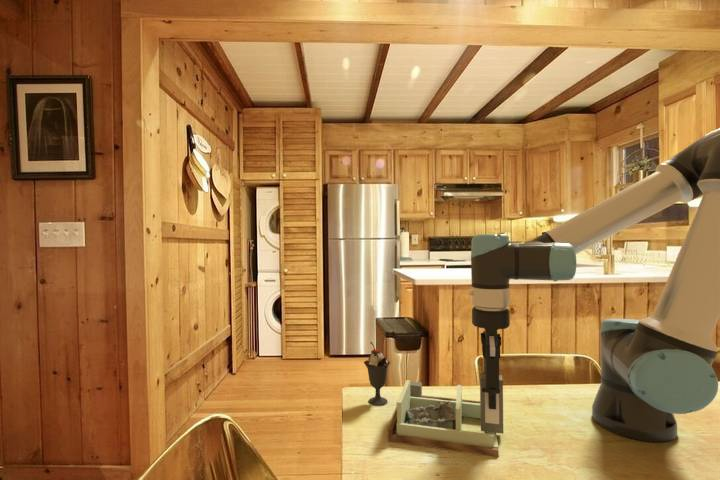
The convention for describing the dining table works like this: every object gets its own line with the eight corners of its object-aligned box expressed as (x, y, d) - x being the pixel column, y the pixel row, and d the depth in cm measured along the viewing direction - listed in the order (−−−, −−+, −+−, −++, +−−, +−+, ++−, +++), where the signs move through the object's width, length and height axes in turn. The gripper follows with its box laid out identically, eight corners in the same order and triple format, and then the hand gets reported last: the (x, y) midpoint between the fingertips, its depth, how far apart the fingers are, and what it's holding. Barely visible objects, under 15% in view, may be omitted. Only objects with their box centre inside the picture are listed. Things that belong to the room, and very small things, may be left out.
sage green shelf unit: (500, 419, 85) (499, 366, 85) (505, 453, 72) (505, 391, 72) (407, 408, 91) (406, 359, 91) (396, 438, 78) (395, 380, 78)
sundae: (366, 395, 99) (365, 339, 99) (391, 396, 99) (390, 339, 98) (363, 406, 93) (362, 346, 93) (390, 408, 92) (389, 347, 92)
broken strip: (481, 407, 91) (481, 387, 91) (481, 414, 88) (481, 392, 88) (408, 399, 96) (408, 380, 96) (406, 405, 93) (406, 385, 93)
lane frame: (492, 407, 92) (491, 397, 92) (498, 456, 71) (498, 444, 71) (405, 398, 98) (404, 388, 98) (388, 441, 77) (388, 429, 77)
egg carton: (451, 417, 86) (451, 400, 86) (459, 435, 79) (459, 415, 79) (405, 418, 87) (404, 400, 87) (409, 435, 79) (408, 415, 79)
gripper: (471, 300, 88) (472, 400, 88) (472, 314, 72) (473, 435, 72) (505, 301, 86) (506, 403, 86) (513, 316, 70) (515, 441, 70)
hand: (491, 418), depth 79 cm, fingers closed on sage green shelf unit, 3 cm apart
